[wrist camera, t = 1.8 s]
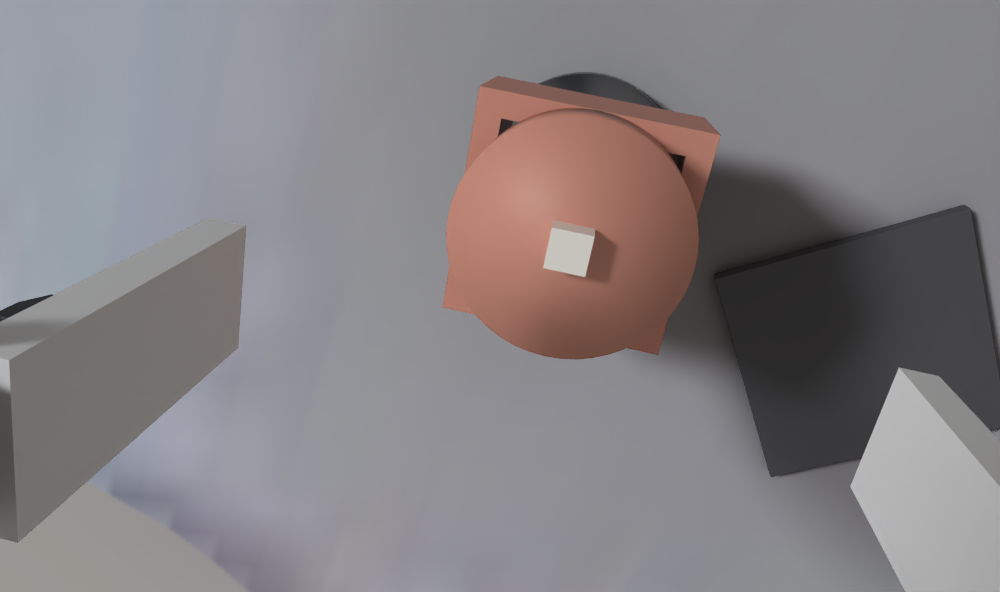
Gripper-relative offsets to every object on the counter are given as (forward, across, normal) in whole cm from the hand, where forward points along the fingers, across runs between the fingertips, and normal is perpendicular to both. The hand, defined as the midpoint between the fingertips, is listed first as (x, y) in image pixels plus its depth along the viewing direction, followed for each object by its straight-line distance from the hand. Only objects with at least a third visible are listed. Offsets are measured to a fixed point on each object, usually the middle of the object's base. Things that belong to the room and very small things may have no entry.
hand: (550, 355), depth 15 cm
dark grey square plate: (+18, +13, -5) cm, 23 cm away
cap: (+13, 0, 0) cm, 13 cm away
